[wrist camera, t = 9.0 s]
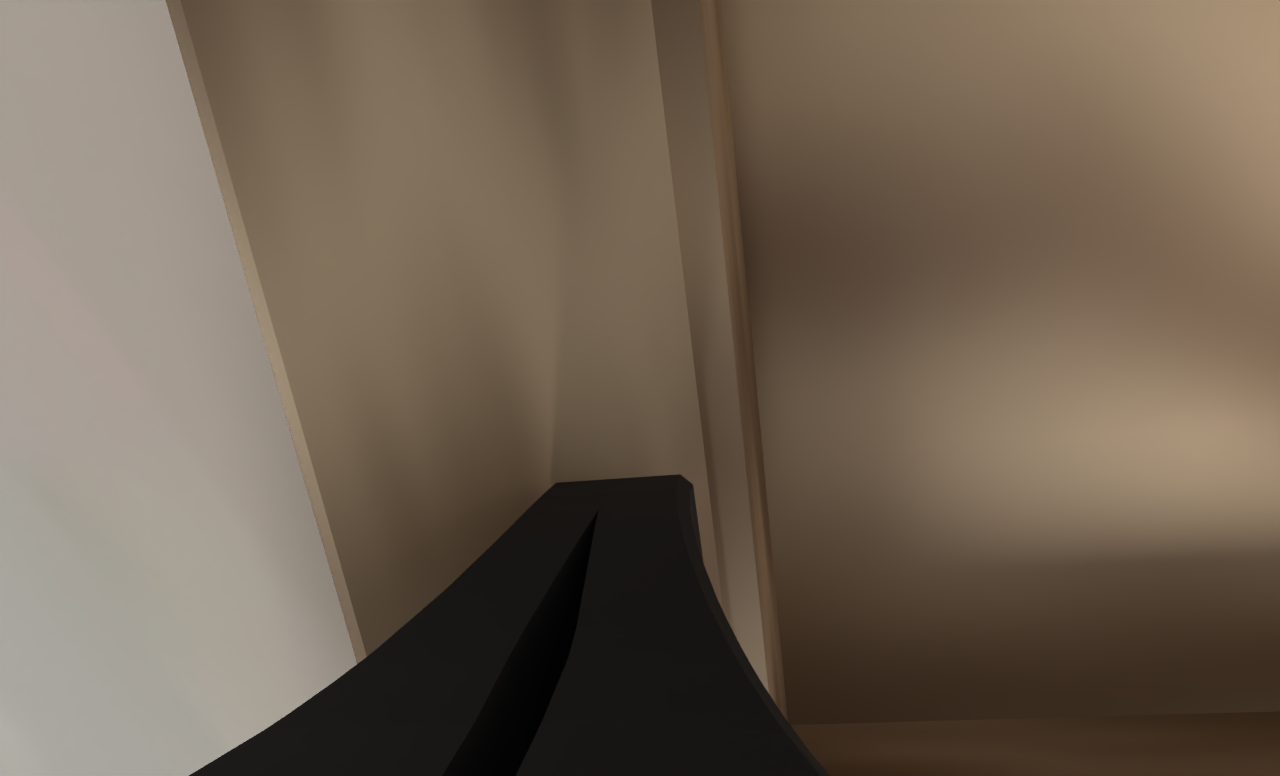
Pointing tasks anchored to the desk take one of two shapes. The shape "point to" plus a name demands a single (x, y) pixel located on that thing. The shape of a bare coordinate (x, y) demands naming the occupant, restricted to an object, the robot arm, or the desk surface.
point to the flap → (452, 265)
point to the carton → (990, 372)
